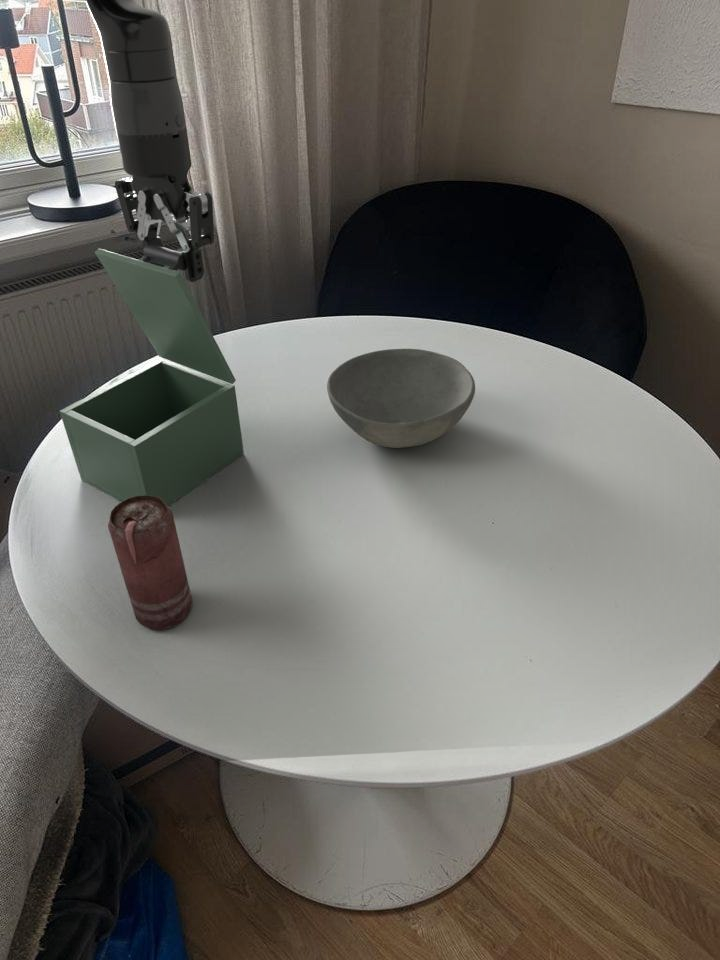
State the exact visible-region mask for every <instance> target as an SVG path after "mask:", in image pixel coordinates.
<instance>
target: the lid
mask: <svg viewBox="0 0 720 960" xmlns="http://www.w3.org/2000/svg"><path fill="white" fill-rule="evenodd" d="M142 253H143V254H142V255H143V256H142V257H140V259H136V258H133V257H129V256H126V255H123V254H119V253H115V252H113V251H108V250H106V249H102V248H98V249H97V250H96V251H94V254H95V255H96V257H97V259H98V260H99V262H100V264H101V265H102V267H103V269H104V270H105V272H106V273H107V275H108V277H109V279H111V281H112V283H113V285H114V287H115V288H116V289H117V291H118V293H119V295H120V296H121V297H122V299H123V302H125V304H126V306H127V307H128V309H129V310H130V312H131V314H132V315H133V317H134V318H135V320H136V322H137V323H138V325H139V326H140V328H141V330H142V332H143V333H144V335H145V336H146V338H147V339H148V341H149V343H150V344H151V346H152V347H153V349H154V351H155V352H156V354H157V355H158V357H159V358H160V359H161V358H163V359H165V360H168V361H171V362H173V363H176V364H178V365H181V366H184V367H186V368H189V369H192V370H194V371H197V372H200V373H202V374H205V375H208V376H210V377H213V378H216V379H218V380H221V381H224V382H226V383H229V384H232V385H234V383H235V382H236V380H237V379H236V377H235V376H234V374H233V372H232V370H231V368H230V366H229V364H228V362H227V360H226V358H225V356H224V354H223V352H222V351H221V348H220V346H219V344H218V343H217V341H216V339H215V337H214V334H213V333H212V331H211V329H210V328H209V325H208V323H207V321H206V319H205V317H204V316H203V314H202V311H201V310H200V308H199V306H198V303H197V302H196V300H195V298H194V296H193V294H192V292H191V290H190V288H189V287H188V284H187V283H186V280H185V279H184V277H183V275H182V273H181V272H180V271H183V272H185V269H184V263H183V256H182V251H179V250H178V251H177V250H175V249H171V248H167V247H163V246H162V247H160V246H156V245H153V244H148V245H146V246H145V248H143V252H142ZM150 261H151V262H155V263H158V264H162V265H165V266H164V267H160V266H157V265H154V264H150V263H149V262H150ZM167 267H168V268H167ZM179 270H180V271H179Z"/></svg>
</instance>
